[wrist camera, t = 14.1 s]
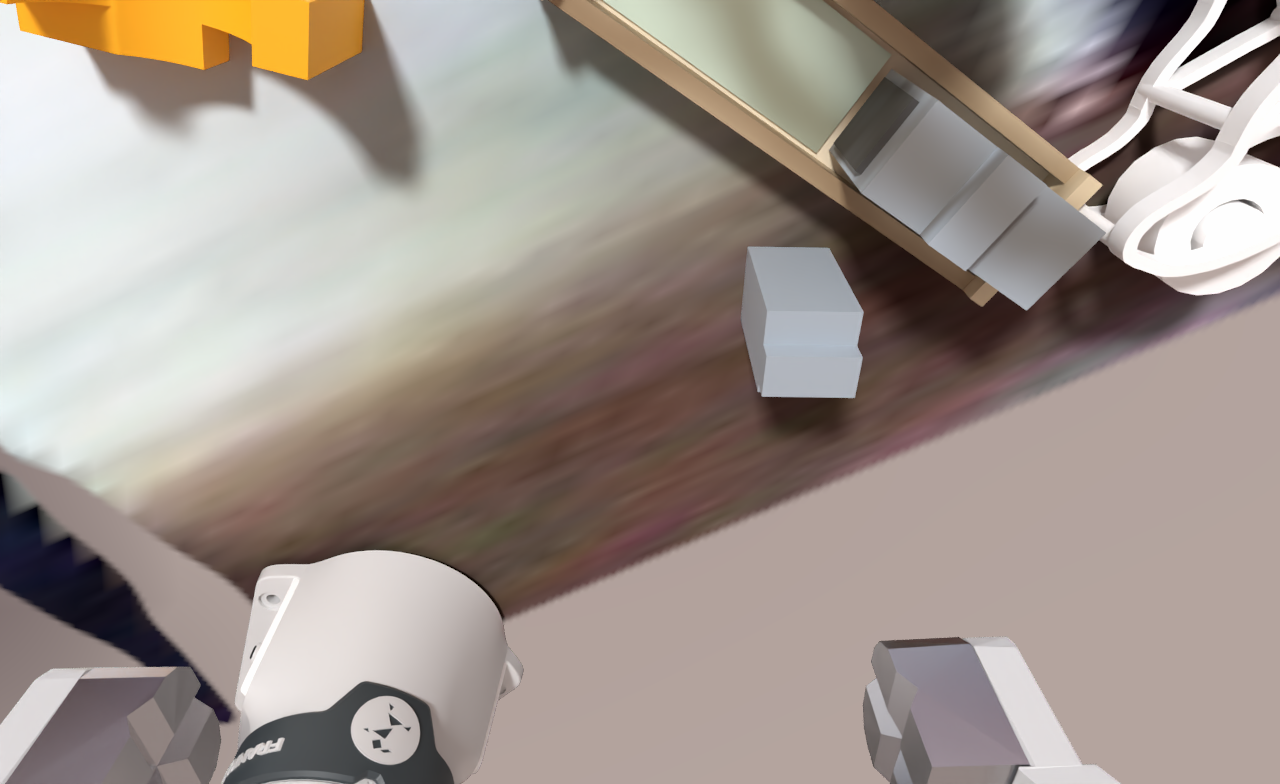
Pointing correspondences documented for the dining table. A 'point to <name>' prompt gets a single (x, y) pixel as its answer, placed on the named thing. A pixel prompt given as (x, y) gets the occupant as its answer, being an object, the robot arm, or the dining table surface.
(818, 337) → the stepped grey block
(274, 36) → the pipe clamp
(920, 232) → the wooden rectangular frame
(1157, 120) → the dining table surface
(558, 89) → the dining table surface
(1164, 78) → the car outline toy
